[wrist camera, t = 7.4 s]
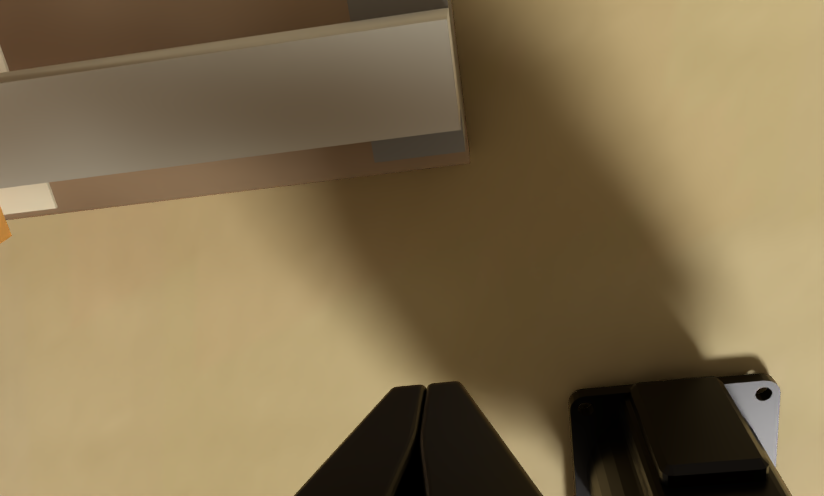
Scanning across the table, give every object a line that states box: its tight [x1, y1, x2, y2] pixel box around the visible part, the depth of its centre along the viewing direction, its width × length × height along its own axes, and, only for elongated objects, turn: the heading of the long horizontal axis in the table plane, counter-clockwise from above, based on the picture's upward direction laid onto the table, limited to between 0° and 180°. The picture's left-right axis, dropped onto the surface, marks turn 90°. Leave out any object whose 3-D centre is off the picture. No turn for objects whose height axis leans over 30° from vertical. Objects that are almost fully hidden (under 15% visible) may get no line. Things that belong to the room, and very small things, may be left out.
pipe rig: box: [0, 0, 470, 220], centre depth 17 cm, size 7×19×7 cm, turn 98°
